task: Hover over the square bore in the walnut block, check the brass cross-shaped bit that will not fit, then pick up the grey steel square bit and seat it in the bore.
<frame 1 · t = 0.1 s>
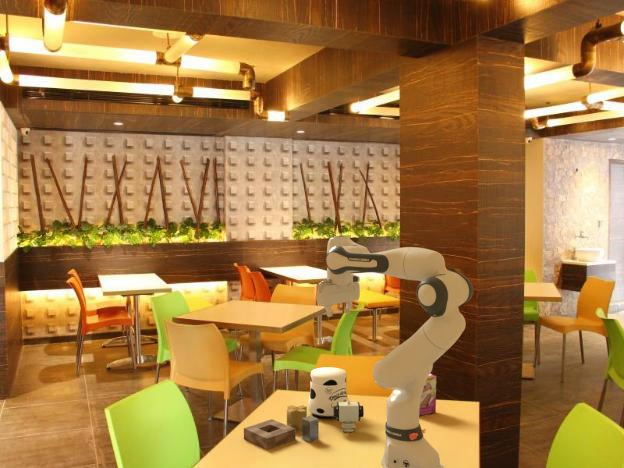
hand: (338, 314, 227), 48 cm above the table, tool pointing down, fingers open, 8 cm apart
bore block: (269, 438, 230), on the table
square bit: (310, 439, 229), on the table
cross bit: (296, 428, 241), on the table
milk container: (328, 413, 258), on the table
candy bar box: (422, 414, 257), on the table
pneumatic valve: (348, 430, 238), on the table
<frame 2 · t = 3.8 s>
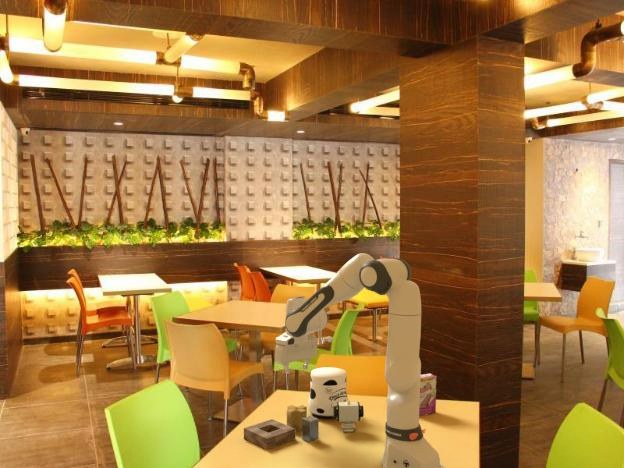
hand: (296, 371, 240), 23 cm above the table, tool pointing down, fingers open, 8 cm apart
nothing on the table moved.
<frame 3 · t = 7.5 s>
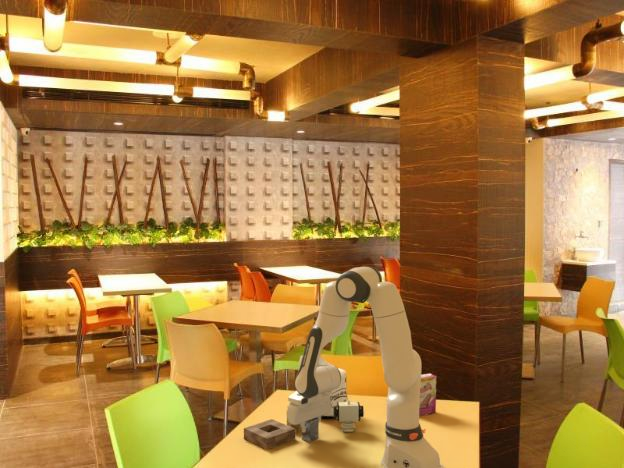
hand: (310, 429, 229), 4 cm above the table, tool pointing down, fingers closed on square bit, 4 cm apart
square bit: (310, 439, 229), on the table, touching gripper
everything else where it was.
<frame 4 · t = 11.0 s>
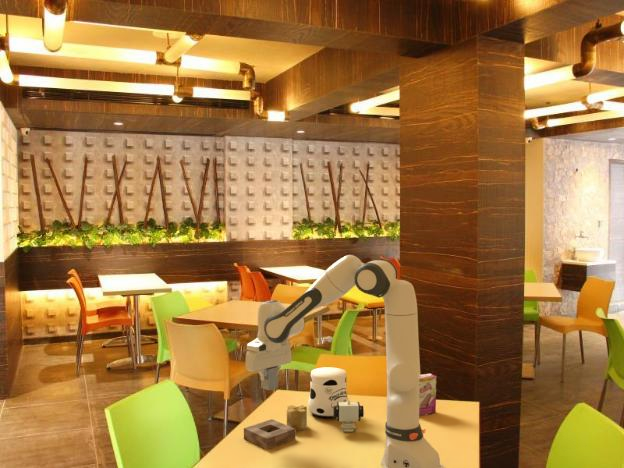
hand: (269, 378, 229), 23 cm above the table, tool pointing down, fingers closed on square bit, 4 cm apart
square bit: (269, 387, 229), point 20 cm above the table, touching gripper
everything else where it was.
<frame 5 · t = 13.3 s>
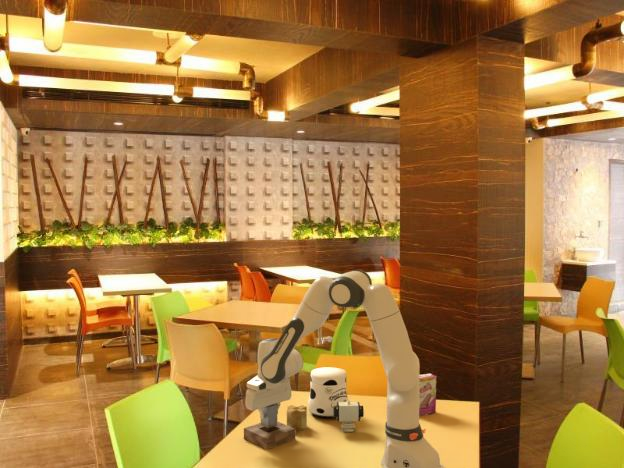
hand: (269, 416, 229), 9 cm above the table, tool pointing down, fingers closed on square bit, 4 cm apart
square bit: (269, 425, 230), point 5 cm above the table, touching gripper
everything else where it was.
when the fingers open (5 cm above the table, at t = 15.0 s): square bit drops 2 cm, resting in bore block.
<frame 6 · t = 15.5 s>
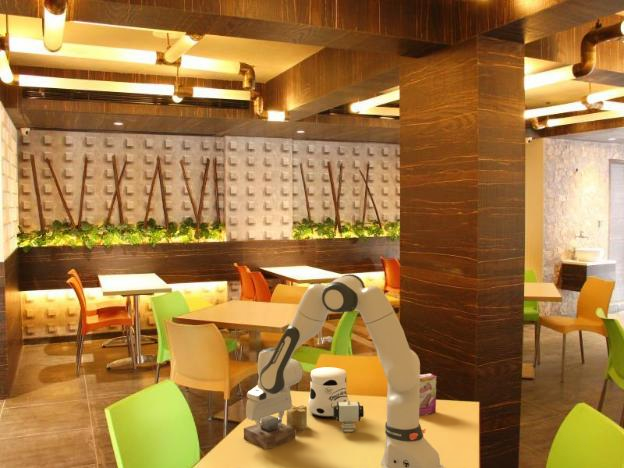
hand: (269, 425, 230), 5 cm above the table, tool pointing down, fingers open, 8 cm apart
square bit: (269, 438, 230), resting in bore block
everything else where it was.
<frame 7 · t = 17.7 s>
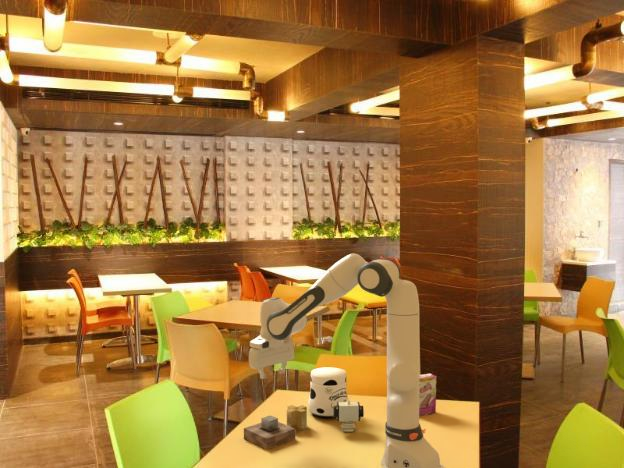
hand: (272, 375, 229), 24 cm above the table, tool pointing down, fingers open, 8 cm apart
nothing on the table moved.
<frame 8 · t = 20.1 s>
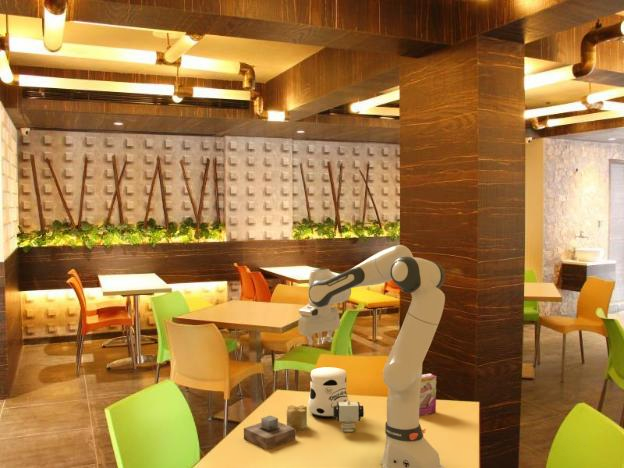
hand: (319, 342, 241), 34 cm above the table, tool pointing down, fingers open, 8 cm apart
nothing on the table moved.
at the end: square bit 0.1 cm off-centre on the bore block, point 0.0 cm above the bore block's base; square bit tilted 0°; cross bit moved 0.1 cm from its start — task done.
